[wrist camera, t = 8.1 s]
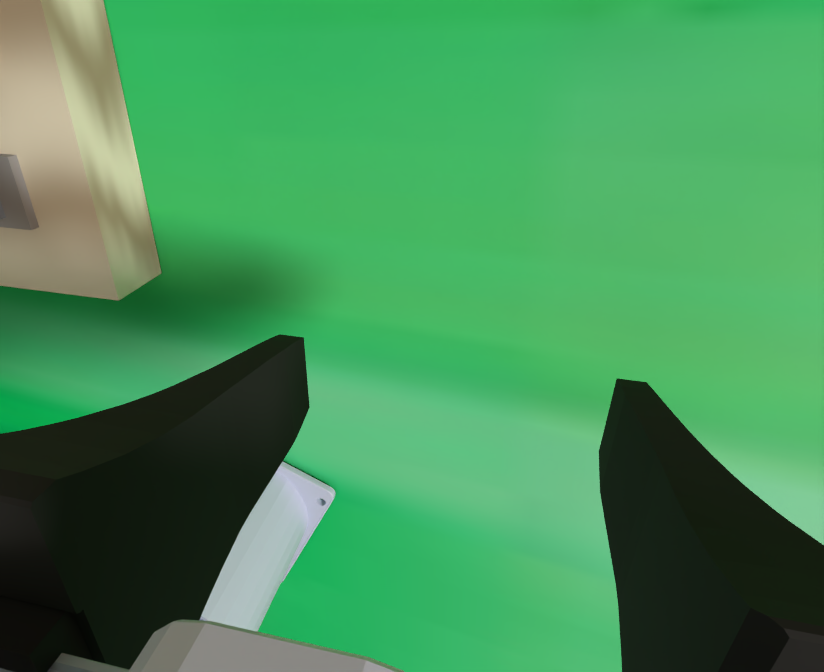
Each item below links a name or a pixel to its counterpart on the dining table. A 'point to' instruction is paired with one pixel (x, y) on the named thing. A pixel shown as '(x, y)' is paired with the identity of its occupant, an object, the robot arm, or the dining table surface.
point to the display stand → (68, 156)
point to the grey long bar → (2, 212)
